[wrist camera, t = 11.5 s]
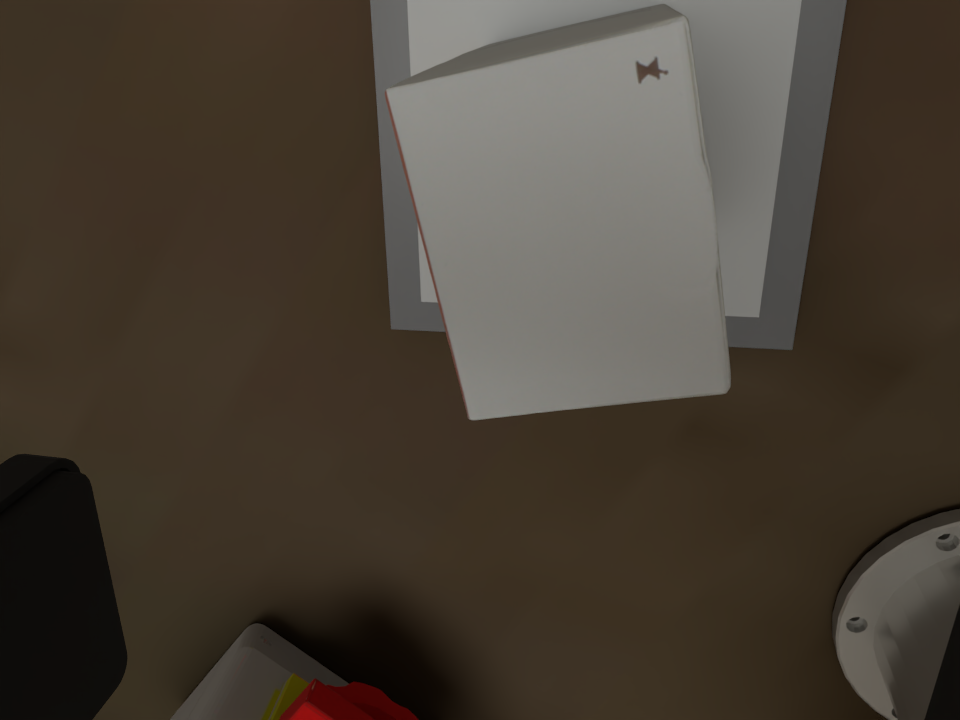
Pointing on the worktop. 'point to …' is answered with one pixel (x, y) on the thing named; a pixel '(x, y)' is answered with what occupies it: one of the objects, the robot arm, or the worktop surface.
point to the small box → (569, 216)
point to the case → (726, 123)
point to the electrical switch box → (281, 687)
